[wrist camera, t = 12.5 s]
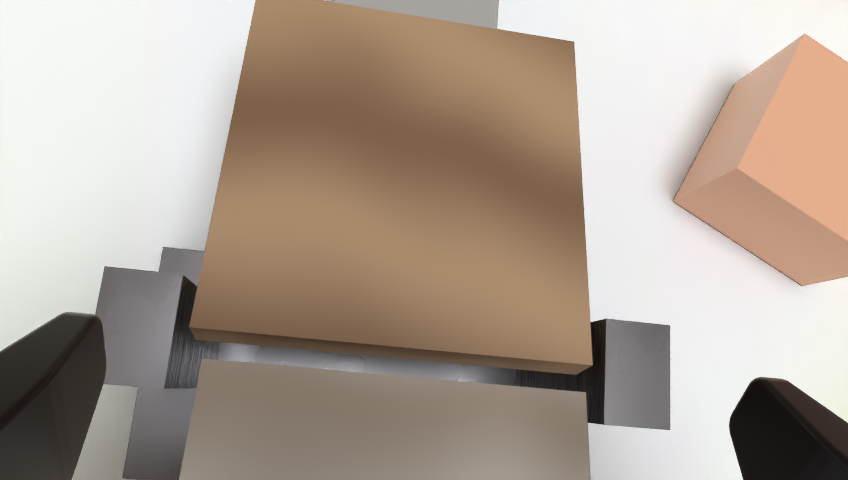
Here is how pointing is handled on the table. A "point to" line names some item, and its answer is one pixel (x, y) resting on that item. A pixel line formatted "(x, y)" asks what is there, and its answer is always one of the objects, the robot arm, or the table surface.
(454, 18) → the slate block
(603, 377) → the trapdoor frame
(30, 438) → the robot arm
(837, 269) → the plinth
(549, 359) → the trapdoor
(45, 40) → the table surface
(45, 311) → the table surface
